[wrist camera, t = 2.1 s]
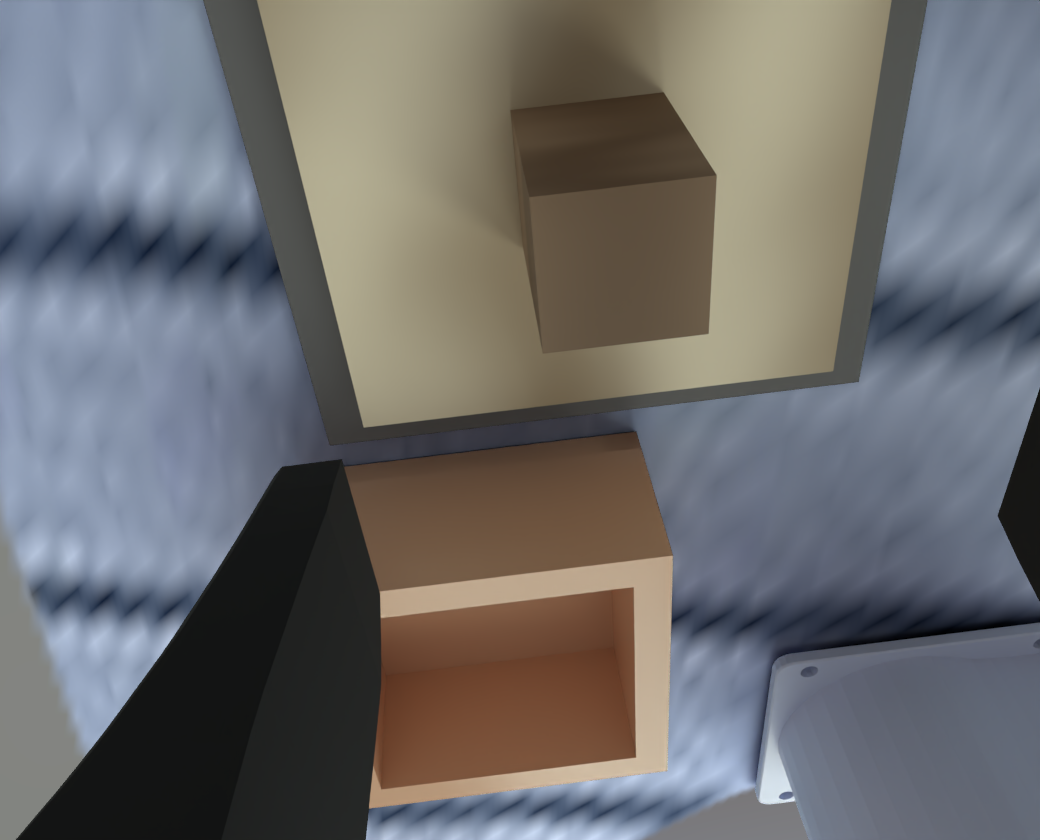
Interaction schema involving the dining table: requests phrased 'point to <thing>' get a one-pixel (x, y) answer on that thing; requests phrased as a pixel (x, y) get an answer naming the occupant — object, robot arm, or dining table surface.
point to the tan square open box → (517, 617)
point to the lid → (578, 190)
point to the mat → (328, 368)
